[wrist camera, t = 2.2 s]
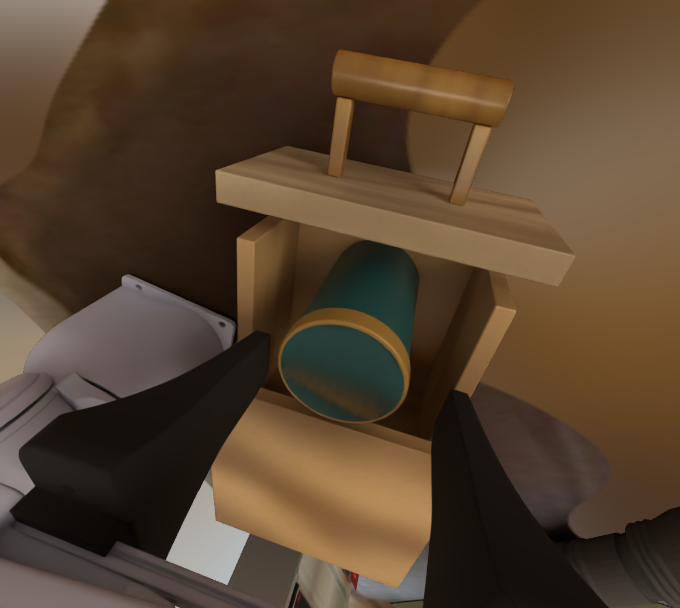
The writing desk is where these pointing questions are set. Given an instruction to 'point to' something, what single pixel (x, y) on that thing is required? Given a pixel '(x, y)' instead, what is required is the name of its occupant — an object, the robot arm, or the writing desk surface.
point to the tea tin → (355, 337)
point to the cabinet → (326, 487)
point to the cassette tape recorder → (290, 577)
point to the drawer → (394, 231)
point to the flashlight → (631, 562)
